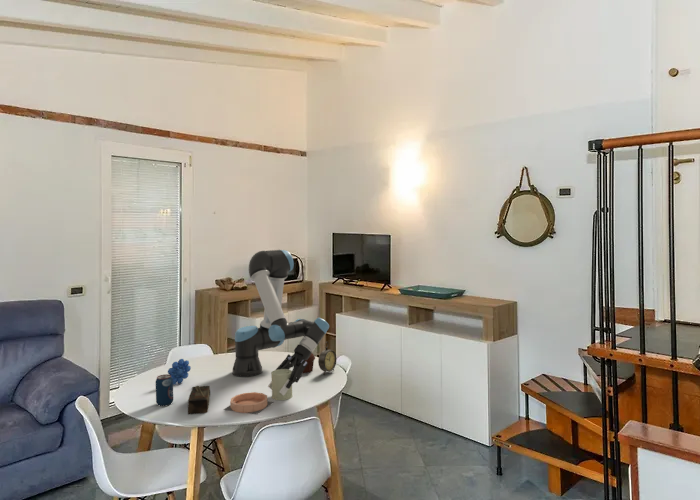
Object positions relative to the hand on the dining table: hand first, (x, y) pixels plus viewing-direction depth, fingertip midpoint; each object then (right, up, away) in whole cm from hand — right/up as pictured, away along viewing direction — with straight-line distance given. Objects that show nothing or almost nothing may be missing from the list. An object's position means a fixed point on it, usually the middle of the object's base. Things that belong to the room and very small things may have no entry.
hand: (275, 391), depth 205 cm
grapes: (-51, -4, +24) cm, 57 cm away
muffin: (+8, -2, +42) cm, 42 cm away
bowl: (-10, -4, -8) cm, 13 cm away
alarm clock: (+21, -2, +37) cm, 43 cm away
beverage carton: (-31, -5, -6) cm, 32 cm away
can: (+3, -4, +2) cm, 5 cm away
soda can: (-47, -5, -3) cm, 48 cm away
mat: (-10, -4, -8) cm, 13 cm away
